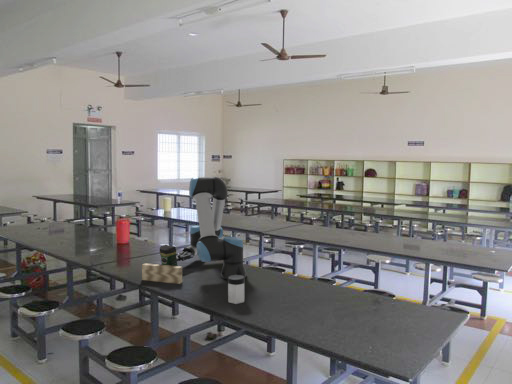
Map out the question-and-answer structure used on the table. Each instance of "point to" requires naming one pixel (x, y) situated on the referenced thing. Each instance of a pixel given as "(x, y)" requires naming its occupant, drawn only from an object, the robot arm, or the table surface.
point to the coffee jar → (168, 255)
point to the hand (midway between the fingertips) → (171, 261)
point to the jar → (236, 289)
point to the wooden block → (162, 273)
